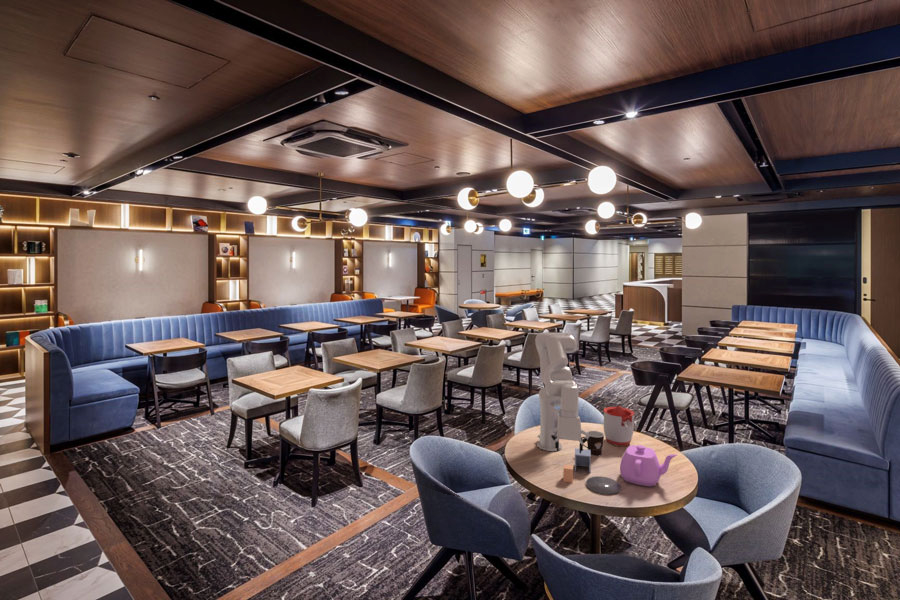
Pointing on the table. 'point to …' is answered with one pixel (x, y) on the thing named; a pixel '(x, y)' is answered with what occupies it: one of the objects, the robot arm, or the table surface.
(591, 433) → the coffee mug
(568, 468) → the terracotta block
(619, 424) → the red and white bucket
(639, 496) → the table surface
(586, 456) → the grey angular piece
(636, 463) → the teapot
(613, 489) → the charcoal dish
